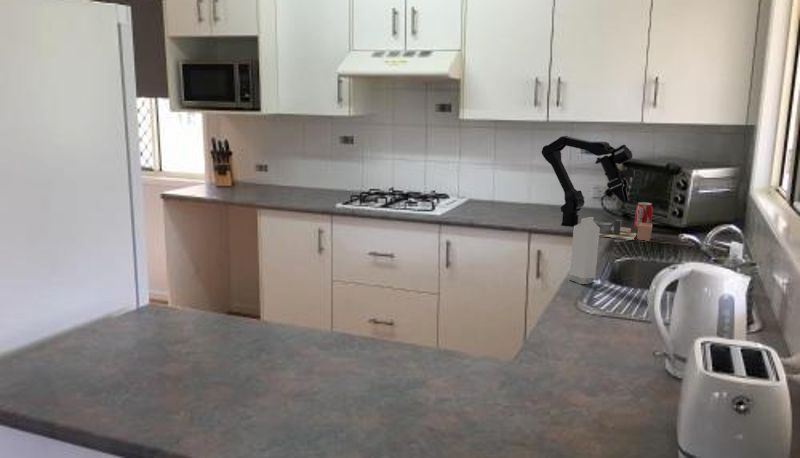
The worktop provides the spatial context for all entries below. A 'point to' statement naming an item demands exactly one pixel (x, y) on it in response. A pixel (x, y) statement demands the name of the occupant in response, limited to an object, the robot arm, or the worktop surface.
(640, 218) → the soda can
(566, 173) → the robot arm
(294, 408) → the worktop surface
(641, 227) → the socket block
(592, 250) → the milk
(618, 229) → the hammer
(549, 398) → the worktop surface
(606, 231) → the sleeve mount
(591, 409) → the worktop surface
